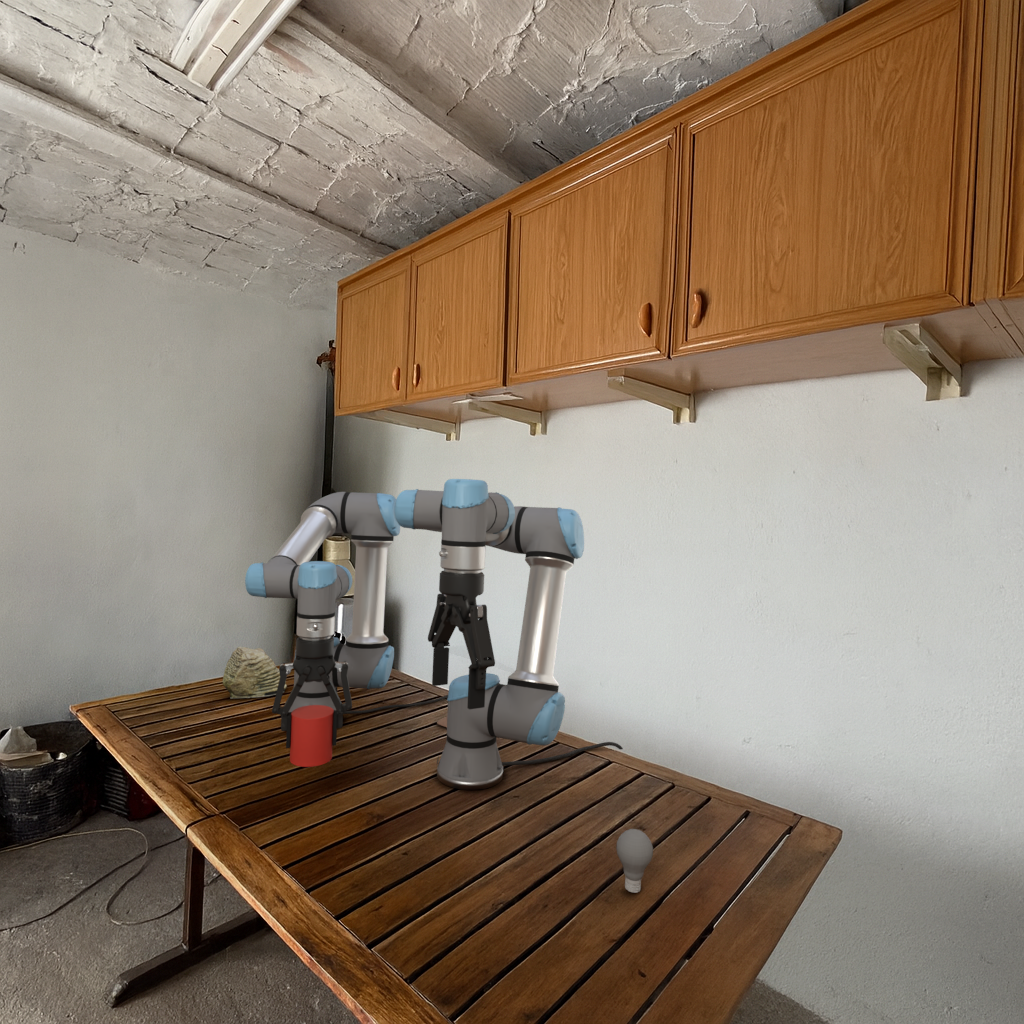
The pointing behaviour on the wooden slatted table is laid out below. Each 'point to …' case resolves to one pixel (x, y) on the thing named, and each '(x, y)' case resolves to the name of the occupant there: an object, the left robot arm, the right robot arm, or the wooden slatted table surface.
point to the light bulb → (634, 857)
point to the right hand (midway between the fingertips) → (456, 695)
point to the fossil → (251, 674)
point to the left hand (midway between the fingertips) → (311, 744)
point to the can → (311, 735)
